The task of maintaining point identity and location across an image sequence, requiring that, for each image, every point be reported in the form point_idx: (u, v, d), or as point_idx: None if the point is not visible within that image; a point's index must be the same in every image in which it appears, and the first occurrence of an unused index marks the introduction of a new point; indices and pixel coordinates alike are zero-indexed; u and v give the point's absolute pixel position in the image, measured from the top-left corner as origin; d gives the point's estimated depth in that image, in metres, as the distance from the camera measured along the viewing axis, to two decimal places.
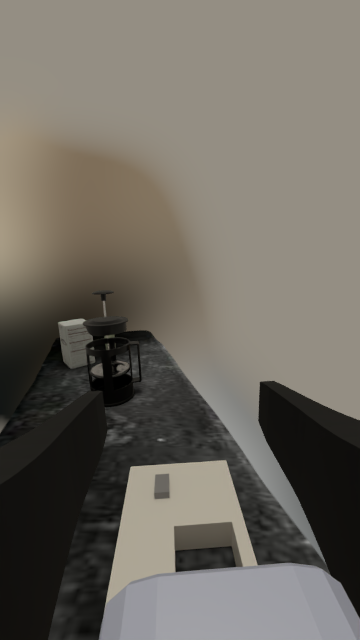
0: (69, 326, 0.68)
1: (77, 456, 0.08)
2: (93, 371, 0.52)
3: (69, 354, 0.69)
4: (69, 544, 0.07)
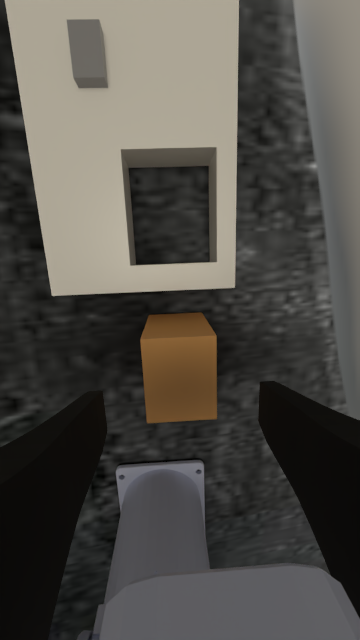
0: None
1: (77, 456, 0.08)
2: None
3: None
4: (69, 544, 0.07)
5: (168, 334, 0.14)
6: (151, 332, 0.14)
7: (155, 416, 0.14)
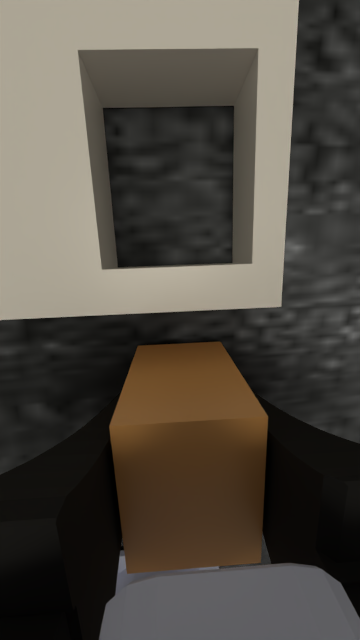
0: None
1: None
2: None
3: None
4: (120, 540, 0.07)
5: (167, 409, 0.07)
6: (135, 399, 0.07)
7: (143, 562, 0.07)
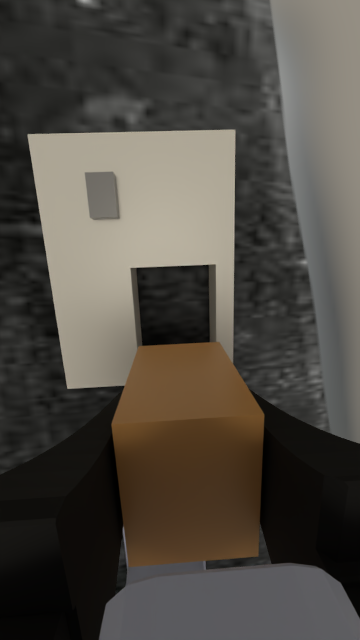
0: None
1: None
2: None
3: None
4: (120, 540, 0.07)
5: (167, 408, 0.07)
6: (136, 398, 0.08)
7: (144, 556, 0.08)
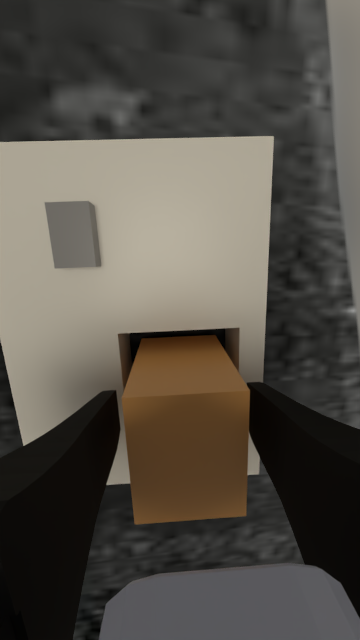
0: None
1: (95, 455, 0.08)
2: None
3: None
4: (89, 543, 0.07)
5: (168, 386, 0.08)
6: (142, 379, 0.09)
7: (148, 514, 0.09)
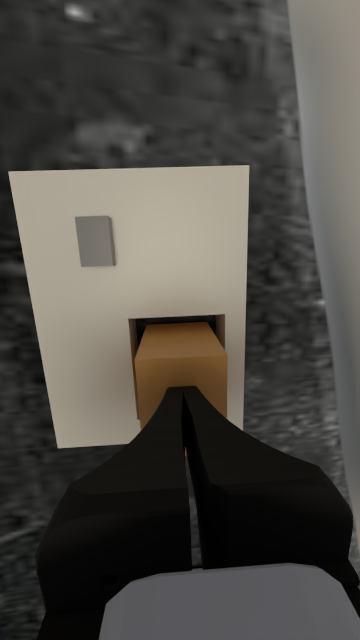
0: None
1: None
2: None
3: None
4: None
5: (168, 353, 0.11)
6: (148, 349, 0.12)
7: None
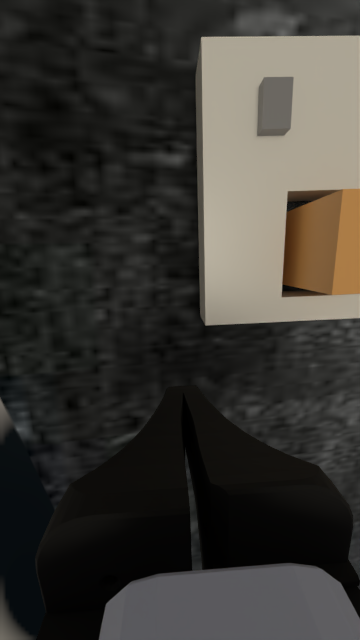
0: None
1: None
2: None
3: None
4: None
5: None
6: None
7: (342, 286, 0.13)
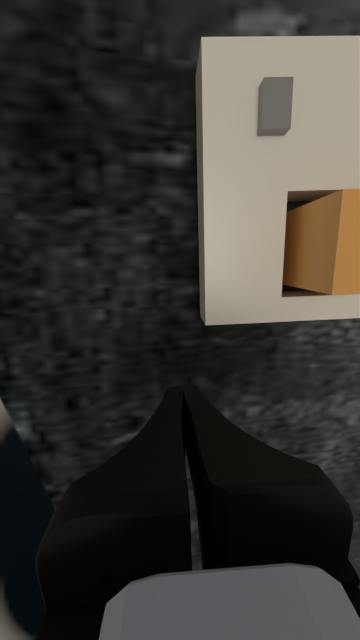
0: None
1: None
2: None
3: None
4: None
5: None
6: None
7: (342, 286, 0.13)
